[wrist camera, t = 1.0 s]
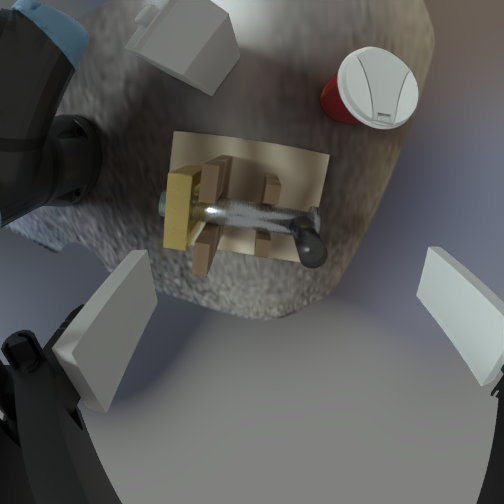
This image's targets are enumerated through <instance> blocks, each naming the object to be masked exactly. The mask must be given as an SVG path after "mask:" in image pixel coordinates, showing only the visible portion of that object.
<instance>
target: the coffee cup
mask: <svg viewBox="0 0 504 504" xmlns="http://www.w3.org/2000/svg"><path fill="white" fill-rule="evenodd" d="M417 101H418V87H417V83H416V80H415V77H414V75H413V73H412V72H411V70H410V69H409V68H408V67H407V66H406V65H405V64H404V63H403V62H402V61H401V60H400V59H399V58H397V57H396V56H395V55H393V54H392V53H390V52H389V51H386V50H383V49H380V48H376V47H364V48H362V49H359V50H356V51H354V52H352V53H350V54H349V55H348V56H347V57H346V58H345V59H344V60H343V62H342V64H341V66H340V68H339V71H338V72H337V73H336V74H335V75H334V76H333V78H332V79H331V80H330V81H329V82H328V83H327V85H326V86H325V87H324V89H323V91H322V93H321V97H320V102H321V106H322V109H323V110H324V112H325V113H326V114H327V115H328V116H329V117H330V118H332V119H333V120H336V121H339V122H345V123H357V124H366V125H368V126H370V127H373V128H377V129H392V128H396V127H398V126H400V125H402V124H403V123H405V122H406V121H407V120H408V119H409V118H410V116H411V115H412V113H413V112H414V110H415V108H416V105H417Z"/></svg>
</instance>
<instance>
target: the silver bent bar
mask: <svg viewBox="0 0 504 504" xmlns="http://www.w3.org/2000/svg"><path fill="white" fill-rule="evenodd" d="M166 192H167V190H163V192H162V194H161V196H160V200H159V214H160V216H164V217H165V206H166ZM198 201H199V194H195V193H194V195H193V205H192V215H191V220H192V221H199V222H206V223H212V224H219V225H225V226H232V227H238V228H244V229H251V230H257V231H263V232H269V233H275V234H281V235H287V236H293V238H294V242H295V245H296V249H297V252H298V256H299V259H300V262H301V263H302V264H303V265H304V266H305V267H307V268H317V267H320V266H321V265H322V264H324V262H325V261H326V259H327V250H326V248H325V246H324V244H323V242H322V240H321V238H320V236H319V231H320V225H321V210H320V208H319V207H315V206H311V207H310V208H309V210H308V211H302V210H297V209H291V208H286V207H280V206H274V205H268V204H262V203H256V202H250V201H243V200H237V199H230V198H224V197H219V198H218V200H217V201H216V203H215V204H211V203H204V202H198Z"/></svg>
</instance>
